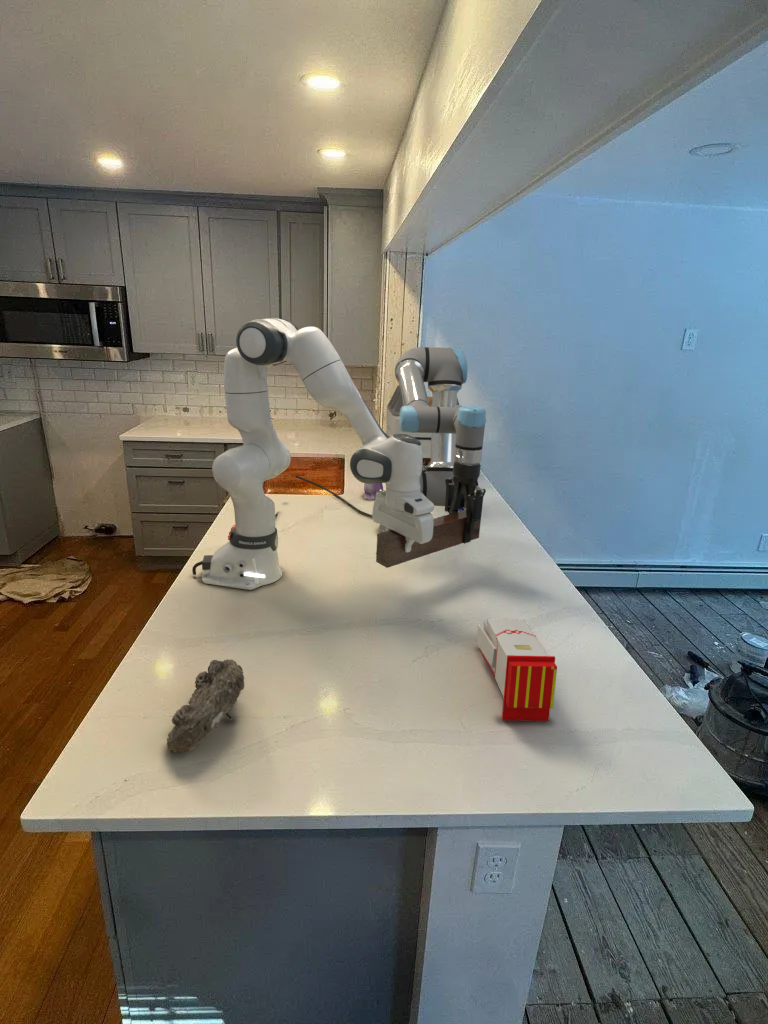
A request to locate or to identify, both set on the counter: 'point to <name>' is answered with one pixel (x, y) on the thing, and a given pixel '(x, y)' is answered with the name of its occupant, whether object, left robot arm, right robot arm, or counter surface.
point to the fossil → (206, 705)
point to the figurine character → (462, 504)
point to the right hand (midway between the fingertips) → (459, 539)
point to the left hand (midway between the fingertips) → (399, 547)
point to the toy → (519, 668)
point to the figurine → (371, 490)
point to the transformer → (394, 425)
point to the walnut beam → (444, 537)
